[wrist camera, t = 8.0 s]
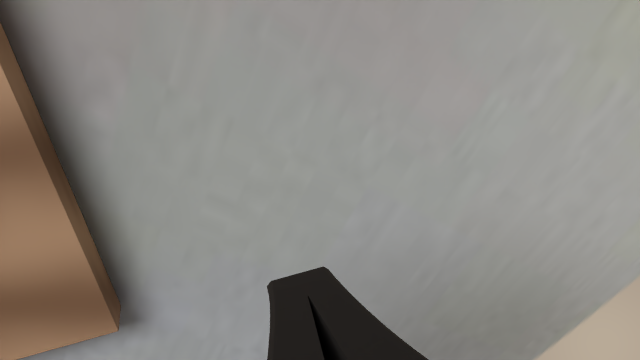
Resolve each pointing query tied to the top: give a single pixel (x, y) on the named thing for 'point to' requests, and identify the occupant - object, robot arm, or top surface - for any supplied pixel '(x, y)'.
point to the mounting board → (42, 236)
